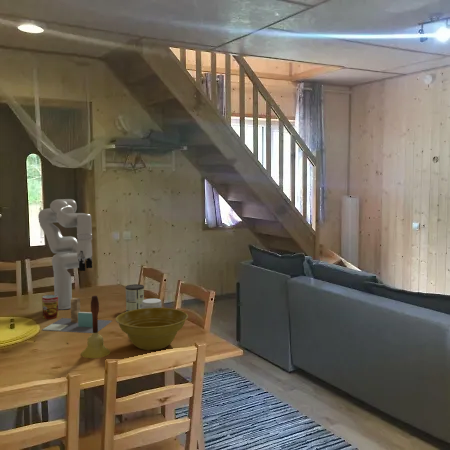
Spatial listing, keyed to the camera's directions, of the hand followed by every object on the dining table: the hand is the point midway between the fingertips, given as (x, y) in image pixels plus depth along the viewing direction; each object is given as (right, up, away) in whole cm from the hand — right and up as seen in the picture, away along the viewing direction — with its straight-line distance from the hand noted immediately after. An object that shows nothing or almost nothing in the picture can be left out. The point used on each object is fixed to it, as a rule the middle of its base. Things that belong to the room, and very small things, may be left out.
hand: (85, 269), depth 271 cm
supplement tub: (+38, -29, -17) cm, 50 cm away
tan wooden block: (-3, -26, -7) cm, 27 cm away
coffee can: (+23, -25, +19) cm, 39 cm away
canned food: (-19, -27, +2) cm, 33 cm away
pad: (-10, -27, -18) cm, 34 cm away
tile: (+4, -27, -15) cm, 31 cm away
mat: (0, -28, -13) cm, 31 cm away
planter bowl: (+41, -31, -41) cm, 65 cm away
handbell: (+18, -32, -51) cm, 63 cm away
